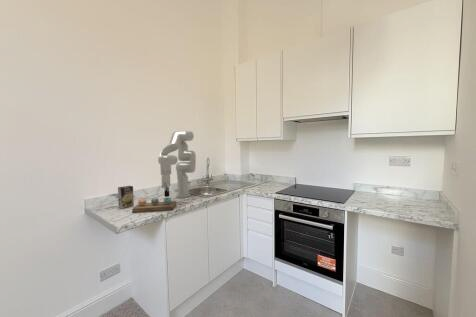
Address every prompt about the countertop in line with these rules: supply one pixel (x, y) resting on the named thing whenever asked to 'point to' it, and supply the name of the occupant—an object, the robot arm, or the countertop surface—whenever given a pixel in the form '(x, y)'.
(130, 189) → the coffee box
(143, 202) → the button terracotta two
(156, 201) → the button charcoal three
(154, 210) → the button panel
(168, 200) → the button teal one
